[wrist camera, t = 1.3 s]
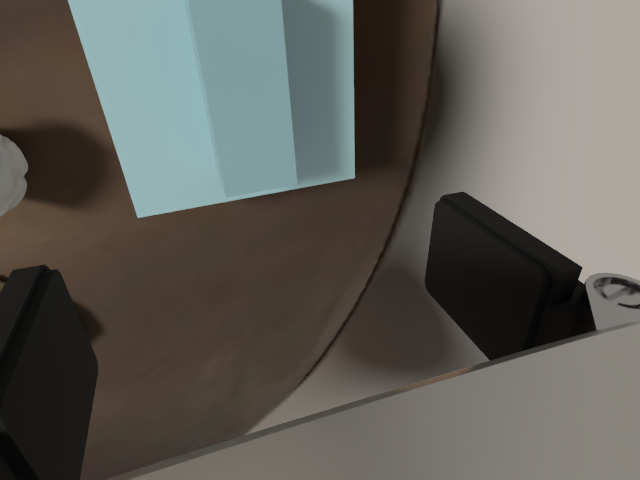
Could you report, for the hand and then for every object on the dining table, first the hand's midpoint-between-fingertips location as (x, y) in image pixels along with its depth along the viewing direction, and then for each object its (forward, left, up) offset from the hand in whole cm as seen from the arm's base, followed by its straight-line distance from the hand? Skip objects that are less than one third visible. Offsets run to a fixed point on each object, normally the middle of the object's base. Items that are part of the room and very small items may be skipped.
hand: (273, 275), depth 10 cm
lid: (-2, +2, -19) cm, 19 cm away
